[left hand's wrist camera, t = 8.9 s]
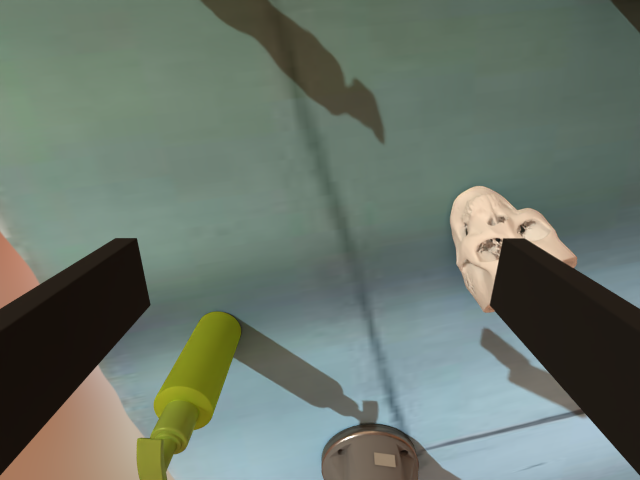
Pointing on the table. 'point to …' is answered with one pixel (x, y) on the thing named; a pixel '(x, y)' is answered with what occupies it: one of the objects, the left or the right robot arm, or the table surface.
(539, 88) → the table surface
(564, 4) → the table surface
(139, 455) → the soap dispenser
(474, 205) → the skull bowl
